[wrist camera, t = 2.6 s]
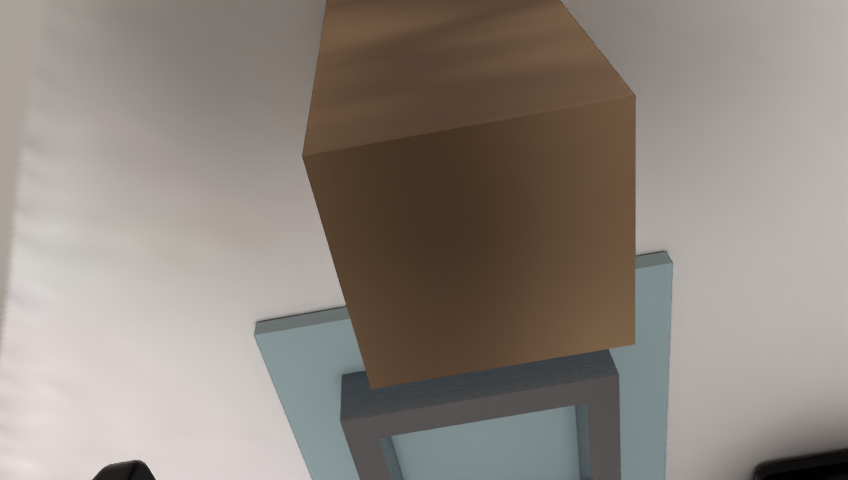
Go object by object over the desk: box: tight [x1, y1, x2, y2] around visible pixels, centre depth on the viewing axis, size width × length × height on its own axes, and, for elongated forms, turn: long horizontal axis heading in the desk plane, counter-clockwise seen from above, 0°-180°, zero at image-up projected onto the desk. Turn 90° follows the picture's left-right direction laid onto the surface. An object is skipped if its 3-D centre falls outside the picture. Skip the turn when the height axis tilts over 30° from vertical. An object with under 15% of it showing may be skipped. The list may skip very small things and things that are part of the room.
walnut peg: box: [302, 0, 636, 389], centre depth 15 cm, size 4×4×9 cm
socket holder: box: [254, 251, 673, 480], centre depth 25 cm, size 13×13×3 cm
